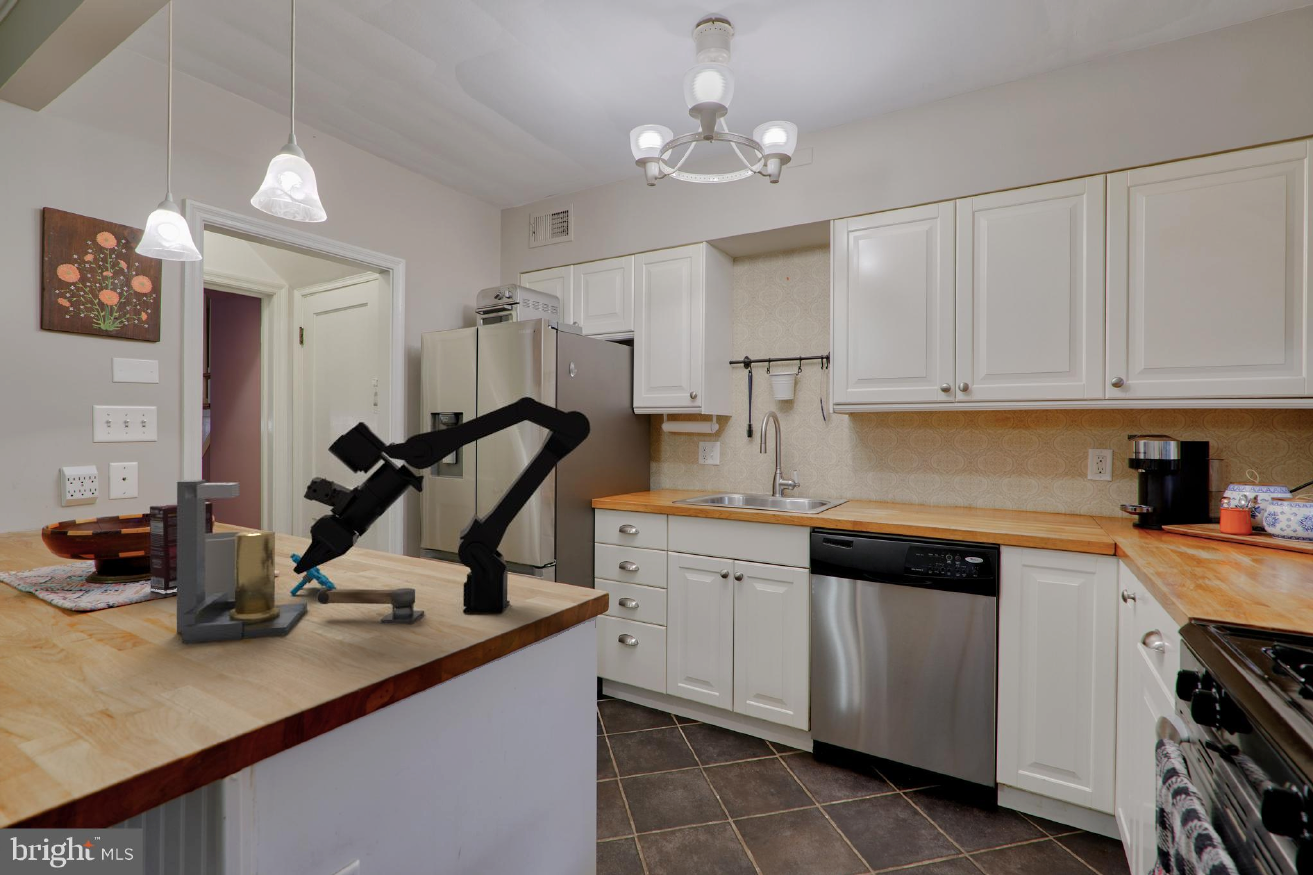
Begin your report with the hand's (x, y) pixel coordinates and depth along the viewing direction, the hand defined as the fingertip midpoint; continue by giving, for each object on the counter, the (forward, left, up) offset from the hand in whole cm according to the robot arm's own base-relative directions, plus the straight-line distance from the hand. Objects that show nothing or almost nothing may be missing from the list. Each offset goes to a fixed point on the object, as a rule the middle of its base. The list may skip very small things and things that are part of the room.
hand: (303, 565), depth 98 cm
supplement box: (+33, -18, -9) cm, 39 cm away
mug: (+21, -14, -9) cm, 27 cm away
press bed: (+8, +2, -9) cm, 12 cm away
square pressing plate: (-15, -2, -9) cm, 17 cm away
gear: (+8, -17, -9) cm, 21 cm away
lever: (-9, -2, -7) cm, 11 cm away
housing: (+6, +2, -8) cm, 10 cm away
